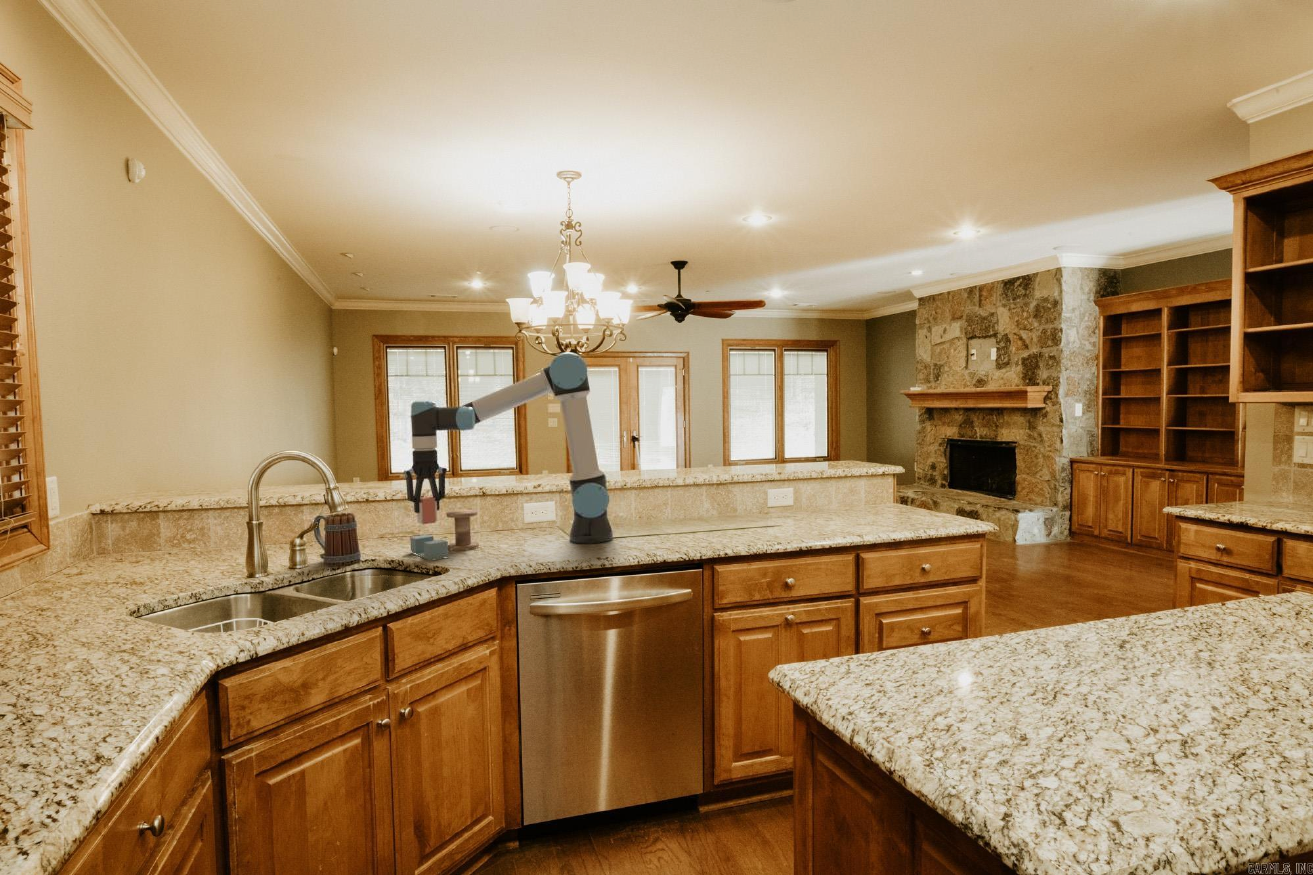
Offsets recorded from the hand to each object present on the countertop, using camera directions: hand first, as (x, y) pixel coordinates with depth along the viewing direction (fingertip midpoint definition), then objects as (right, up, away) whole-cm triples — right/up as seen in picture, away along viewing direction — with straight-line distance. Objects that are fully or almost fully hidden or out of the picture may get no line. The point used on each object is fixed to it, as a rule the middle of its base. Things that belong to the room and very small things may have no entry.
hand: (427, 521), depth 218 cm
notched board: (0, -11, +1) cm, 11 cm away
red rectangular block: (0, 0, 0) cm, 0 cm away
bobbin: (+8, -10, +11) cm, 17 cm away
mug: (-26, -12, -6) cm, 30 cm away
